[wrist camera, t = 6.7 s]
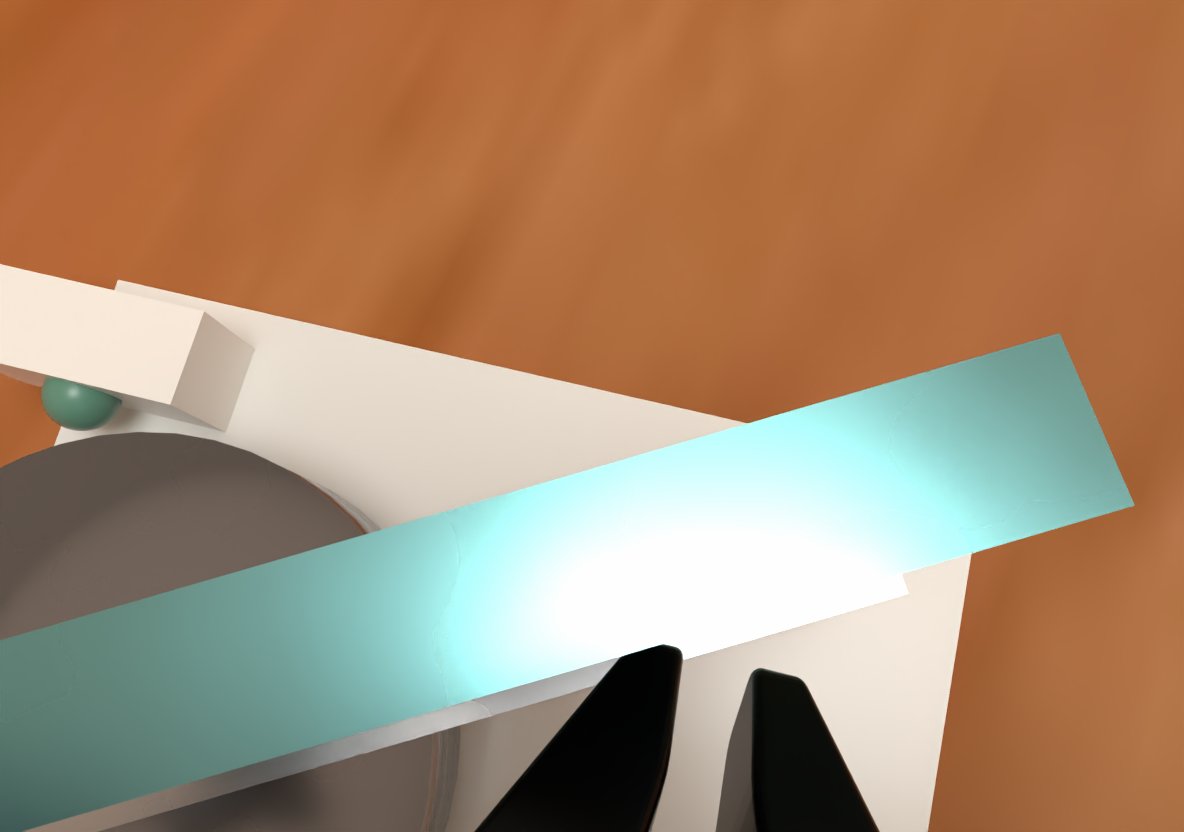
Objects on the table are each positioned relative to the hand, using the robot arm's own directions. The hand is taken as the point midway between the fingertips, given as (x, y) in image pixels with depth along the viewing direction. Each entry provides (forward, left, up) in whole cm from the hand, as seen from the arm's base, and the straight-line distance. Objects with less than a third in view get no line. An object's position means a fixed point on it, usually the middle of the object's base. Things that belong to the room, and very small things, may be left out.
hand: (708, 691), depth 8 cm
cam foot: (+3, +4, -7) cm, 8 cm away
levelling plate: (+2, +4, -9) cm, 10 cm away
